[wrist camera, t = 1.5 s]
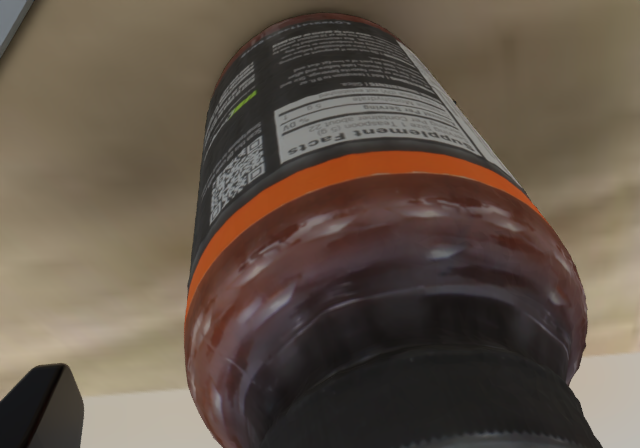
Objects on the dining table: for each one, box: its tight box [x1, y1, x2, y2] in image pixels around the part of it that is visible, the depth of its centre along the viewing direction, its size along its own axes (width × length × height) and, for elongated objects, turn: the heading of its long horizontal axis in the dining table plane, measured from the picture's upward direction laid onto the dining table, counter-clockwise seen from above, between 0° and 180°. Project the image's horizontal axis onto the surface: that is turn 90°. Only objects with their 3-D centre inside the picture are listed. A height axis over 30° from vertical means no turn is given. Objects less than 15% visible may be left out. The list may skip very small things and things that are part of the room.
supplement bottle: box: [184, 13, 603, 448], centre depth 11 cm, size 6×6×11 cm
